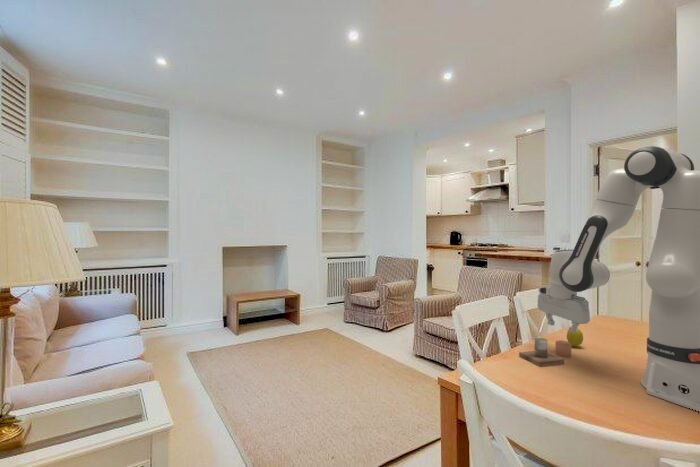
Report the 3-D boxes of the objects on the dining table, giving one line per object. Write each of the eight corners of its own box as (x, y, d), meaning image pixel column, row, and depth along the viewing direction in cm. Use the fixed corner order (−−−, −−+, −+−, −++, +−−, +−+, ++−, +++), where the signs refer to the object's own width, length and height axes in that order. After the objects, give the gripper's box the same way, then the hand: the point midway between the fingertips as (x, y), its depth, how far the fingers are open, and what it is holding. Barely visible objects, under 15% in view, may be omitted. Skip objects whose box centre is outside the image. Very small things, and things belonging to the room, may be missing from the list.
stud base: (564, 364, 119) (564, 342, 119) (540, 366, 116) (540, 345, 116) (541, 353, 129) (541, 334, 128) (519, 356, 126) (519, 336, 126)
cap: (574, 356, 126) (574, 343, 126) (563, 358, 124) (563, 344, 124) (562, 352, 130) (562, 339, 130) (552, 353, 129) (552, 340, 129)
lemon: (582, 350, 132) (582, 329, 132) (565, 347, 136) (566, 327, 136) (583, 346, 137) (583, 326, 137) (567, 343, 140) (567, 324, 140)
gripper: (595, 298, 118) (593, 337, 119) (548, 286, 138) (546, 320, 138) (581, 298, 117) (579, 338, 117) (535, 287, 136) (533, 321, 137)
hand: (561, 328), depth 128 cm, fingers open, 8 cm apart
